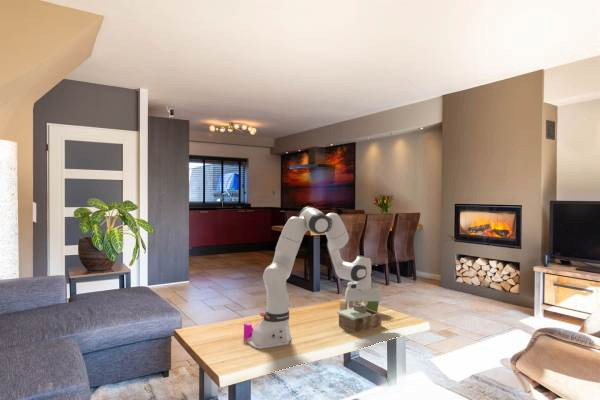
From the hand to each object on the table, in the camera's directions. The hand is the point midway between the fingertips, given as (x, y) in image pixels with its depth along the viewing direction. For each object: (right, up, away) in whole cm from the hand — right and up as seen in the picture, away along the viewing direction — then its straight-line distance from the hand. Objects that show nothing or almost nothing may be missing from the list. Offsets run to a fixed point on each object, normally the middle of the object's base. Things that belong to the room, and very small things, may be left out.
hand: (363, 308), depth 210 cm
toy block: (-59, -10, -15) cm, 61 cm away
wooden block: (-10, -9, +7) cm, 15 cm away
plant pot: (+9, -9, +23) cm, 26 cm away
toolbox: (-2, -9, -1) cm, 9 cm away
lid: (-6, -2, -4) cm, 7 cm away
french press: (0, -9, +29) cm, 30 cm away
